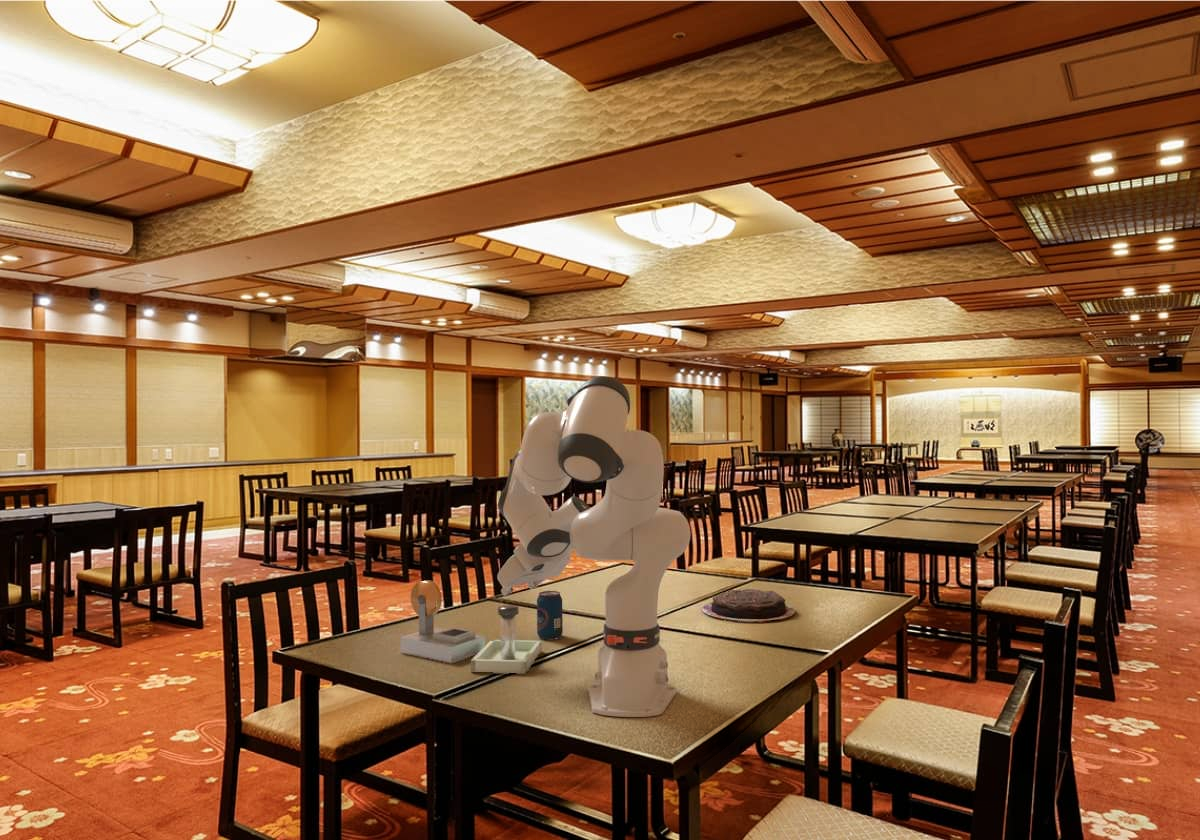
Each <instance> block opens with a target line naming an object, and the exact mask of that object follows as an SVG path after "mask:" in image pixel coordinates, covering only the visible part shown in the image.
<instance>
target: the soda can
mask: <svg viewBox="0 0 1200 840" xmlns="http://www.w3.org/2000/svg"><path fill="white" fill-rule="evenodd" d="M563 625H564V623H563V598H562V596H561V592H559V591H557V590H545V591H540V592H538V596H537V598H536V633H537V634H536V635H537V636H538V637H539V639H540V638H542V639H541V640H543V639H555V640H557V639H556V638H559V639H561V636H562V635H563V631H564V630H563V628H564V627H563Z"/></svg>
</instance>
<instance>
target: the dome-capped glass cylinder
mask: <svg viewBox="0 0 1200 840" xmlns="http://www.w3.org/2000/svg"><path fill="white" fill-rule="evenodd" d="M518 614H519V605H512V604H507V605H505V604H504V605H499V606H498V607H497V615H498V616H500V639H499V640H500V660H515V640H516V623H517V622H516V619H517V618H516V615H518Z"/></svg>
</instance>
